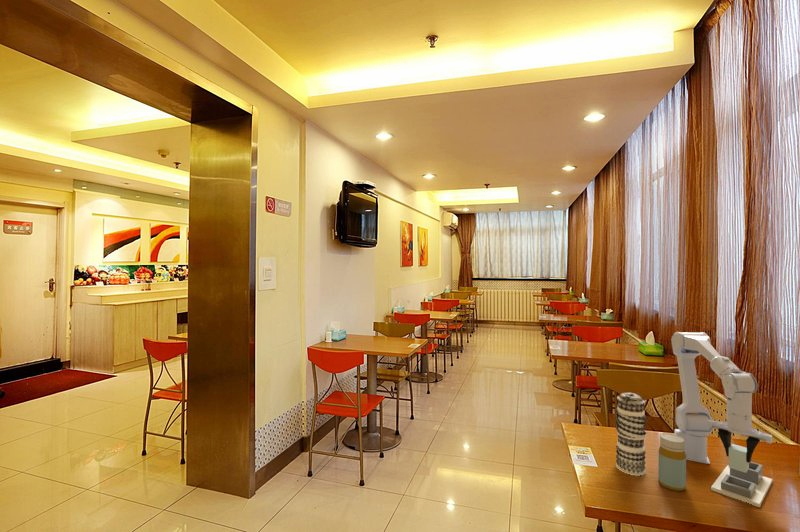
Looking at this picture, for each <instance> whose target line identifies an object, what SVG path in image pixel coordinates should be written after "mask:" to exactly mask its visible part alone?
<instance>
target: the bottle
mask: <svg viewBox="0 0 800 532" xmlns="http://www.w3.org/2000/svg"><path fill="white" fill-rule="evenodd" d="M659 437H660V438H659V443H660V444H659V448H658V460H657V461H658V468H657V469H658V472H657V475H658V482H659V484H660V485H661V486H662V487H664V488H665V487H666V489H667V488H668V489H667V490H670V491H673V490H675V491H674V492H682V491H684V490H685V489H686V488H687V460H686V454H685V452H684V444H685V441H684V439H683V438H682V437H680V436H678V435H674V433H666V432H665V433H661V434H660V435H659Z"/></svg>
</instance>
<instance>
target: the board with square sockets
mask: <svg viewBox="0 0 800 532" xmlns="http://www.w3.org/2000/svg"><path fill="white" fill-rule="evenodd" d="M763 470H764V467H763V464H760V463H757V462H753V461H751V462H750V463H749V469H748V471H747V472H746V473H745V472H742V471H738V470H735V469H732V468H729V464H728V465H726V466H725V468H724V469H723V470H722V472H721V473H720V475H719V476H718V477H717V478H716V480H715V481H714V482H713V484H712V485H711V486H710V489H711V491H713V492H716V493H718V494H721V495H724V496H727V497H729V498H733V499H734V498H735V500H737V499H738V500H737V501H740V500H741V501H740V502H743V503H746V502H747V503H746V504H748V503H749V505H751V504H752V505H751V506H755V507H757V508H761V506H762V503H763V502H764V500H765V498H766V496H767V493H768V492H769V490H770V488H771V486H772V484H773V478H770V477H767V476H764V475H763V474H764V473H763Z"/></svg>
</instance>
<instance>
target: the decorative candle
mask: <svg viewBox="0 0 800 532" xmlns="http://www.w3.org/2000/svg"><path fill="white" fill-rule="evenodd" d="M616 398H617V408H615V411H614V413H615V418H614V420H615V424H616V428H615V431H616V434H617V441H616V443H617V444H616V445H615V448H616V450H615V452H616V455H615V458H616V459H615V462H616V463H615V464H616V465H615V466H616V467H615V468H616V469H619V470H618V471H620V470H621V471H622V473H623V472H625V473H624V474H626V473H627V474H626V475H628V474H630V476H633V475H635V476H634V477H641V476H644V475H645V474H646V470H645V469H646V465H645V464H646V463H647V462H646V460H645V459H646V455H645V454H646V453H647V452H646V450H645V444H644V443H645V439H646V434H647V432H646V430H647V427H646V426H645V425H646V424H647V423H648V422H647V421H646V420H647V418H648V417H647V415H646V414H645V403H646V401H645V400H644V399H643V398H642V396H641V395H639V394H637V393H633V392H621V393H620V394H619V395H617V397H616ZM621 471H620V472H621ZM640 475H641V476H640Z"/></svg>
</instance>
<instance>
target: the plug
mask: <svg viewBox="0 0 800 532" xmlns="http://www.w3.org/2000/svg"><path fill="white" fill-rule="evenodd" d="M746 457H747V446H746V447H745V446H741V445H738V444H734V443H731V445H730V447H729V457H728V465H729V468H732V469H735V470H738V471H742V472H745V473H746V472H747V471H748V469H749V463H748V462H747V461H746Z"/></svg>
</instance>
